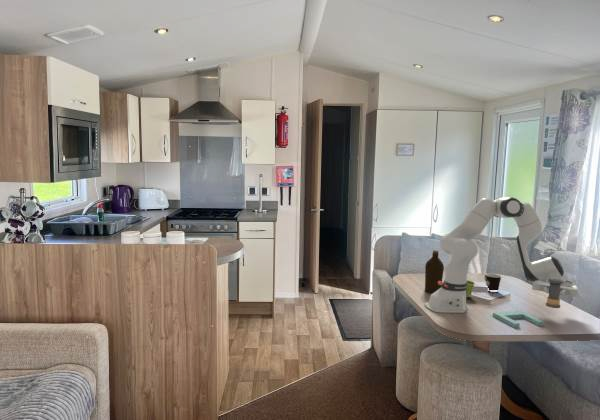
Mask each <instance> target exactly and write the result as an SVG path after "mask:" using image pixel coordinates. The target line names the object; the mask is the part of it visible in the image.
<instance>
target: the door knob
mask: <svg viewBox="0 0 600 420" xmlns="http://www.w3.org/2000/svg"><path fill="white" fill-rule="evenodd" d="M548 282H550V287H549V293H548V296H547V298H546V299H547V300H546V302H545V306H546V307H549V308H553V309H560V308H561V305H560V302H561V298H560V295H559V294H560V285H561V284H563V281H562V280H558V279H548Z"/></svg>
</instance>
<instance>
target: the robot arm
mask: <svg viewBox="0 0 600 420" xmlns="http://www.w3.org/2000/svg"><path fill="white" fill-rule="evenodd" d="M493 217H496V218H503V219H508V218H512V219H513V220H514V221H515V223H516V226H517V228H518V235H517V236H516V244H517V249H518V253H519V256H520V261H521V264H522V265H521V266H522V272H523V276H524V277H525V279H526V280H528V281H530V282H532V284H531V285H532V287H531V288H532V290H534V291H539V292H544V293H547V294H549V287H550V282H548V279H558V280H562V281H563V284H561V285H560V294H559V296H567V297H568V296H569V297H576V298H577V297H578V296H579V287H578V286H577V285H576V283H575V282H574V281H569V280H566V279H565V277H564V267H563V265H562V263H561V262H560V260H559V259H558V258H556V257H554V256H548V257H544V258H541V259H539V260H534V261H530V257H529V253H528V248H527V247H528V246H529V244H530V243H532V242H533V241H534V240H536V239H537V238H538V237H539V235H541V233H542V231H543V225H542V222H541V220H540V217H539V216H538V214H537V212H536V210H535V209H534V208H533V206H532V205H531V204H530V203H529V202H521V201H520V200H519V199H518V198H515V197H513V196H512V197H511V196H509V197H507V196H503V197H499V198H494V199H490V198H487V197H484V198H481V199H480V200H478V202H476V204H474V205H473V206H472V208H471V209H470V210H469V212H468V213H467V215H466V216H465V218H464V219H463V220H462V221H461V223H459V224H458V225H457V226H456V227H455V228H454V229H453V230H452V231H451V232H449V233H447V234H444V235H443V236H442V237H441V239H440V241H439V245H440V248H441V250H443V251H444V252H445V253H446V254H448V255H451V259H450V260H449V261H450V262H449V263H447V265H446V266H445V272H444V280H443V281H442V282H441V281H438V284H439V285H442V286H441V288H440V289H438V290H437V291H436V292H434V293H433V294H432V293H430V296H429V301H427V302H424V307H426V308H427V309H429V310H431V311H432V312H435V313H444V314H445V313H446V314H447V313H450V314H452V313H453V314H454V313H455V314H457V313H459V314H460V313H462V314H463V313H464V314H465V313H466V312H467V310H468V304H467V298H466V290H467V283H466V280H467V279H468V277H467V276H468V269H469V266H470V264H471V261H472V260H473V259H475V258H476V256H477V254H478V252H479V250H478V249H479V248H478V246H477V244H476V243H475V242H474V241H472V240H473V239H475V238H476V237H478V236H480V235H482V233H483V231H484V230H485V228H486V227H487V225H488V224H489V223H490V221H491V219H492V218H493ZM541 279H546V280H545V281H541Z"/></svg>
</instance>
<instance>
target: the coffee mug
mask: <svg viewBox="0 0 600 420" xmlns="http://www.w3.org/2000/svg"><path fill="white" fill-rule="evenodd" d="M501 279H502V275H500V274H496V273H486V274H484V280H485V282H486V284H485V285H487V286H488V288H489V290H498V291H499V290H500V289H499V288H500V283H501Z"/></svg>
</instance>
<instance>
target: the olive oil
mask: <svg viewBox="0 0 600 420" xmlns="http://www.w3.org/2000/svg"><path fill="white" fill-rule="evenodd" d="M444 269H445V267H444V263H443V262H442V260H441V259H440V258H439V251H438V250H434V249H433V251H432V256H431V258H429V259H428V260H427V261H426V262H425V269H424V271H425V272H424V274H425V275H424V276H425V277H424V278H425V279H424V291H425V293H429V294H433V293H434V292H436V291H437V290H438V289H440V288H441V286H442V285H439V284H438V281H441V282H442V283H443V277H444Z"/></svg>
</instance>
